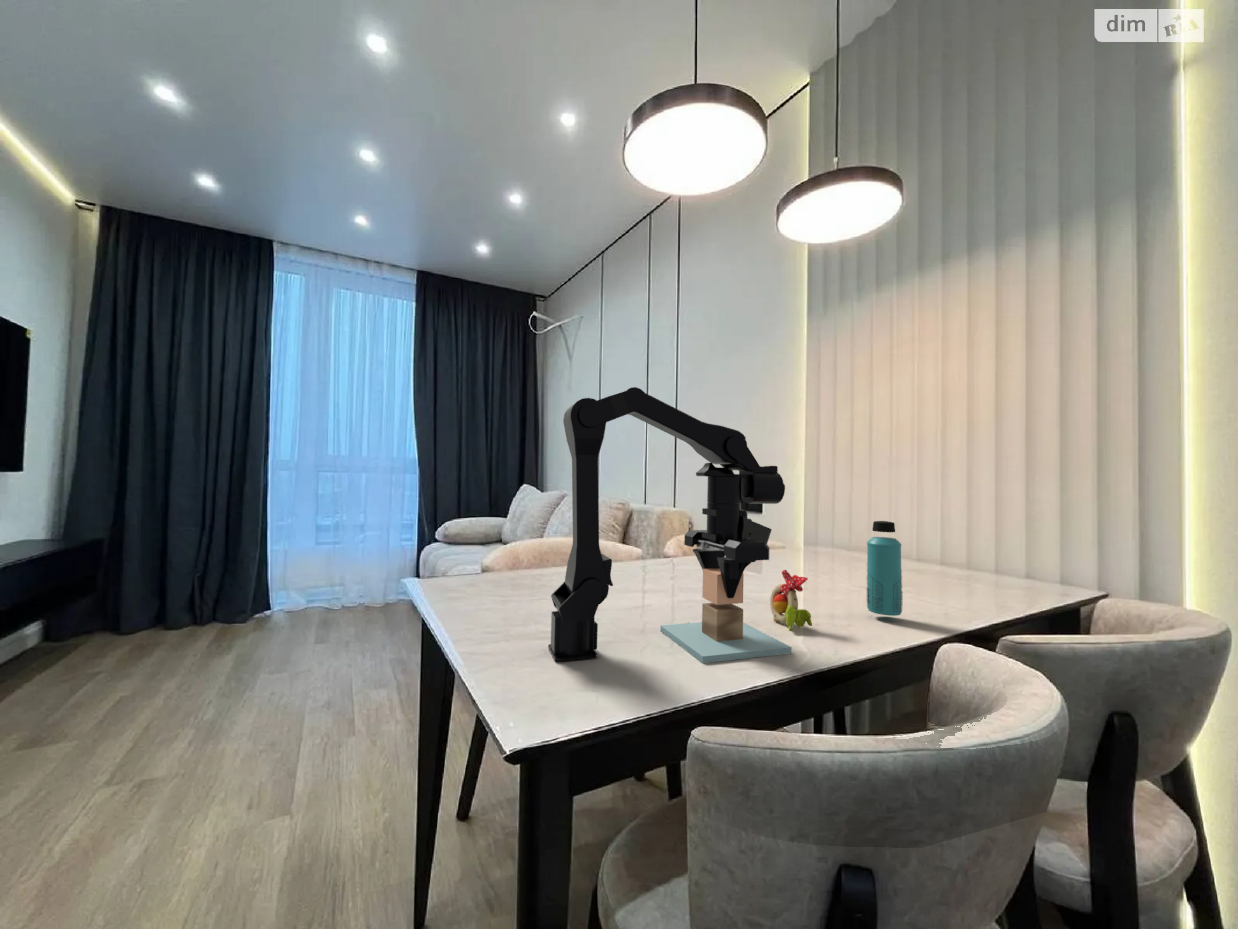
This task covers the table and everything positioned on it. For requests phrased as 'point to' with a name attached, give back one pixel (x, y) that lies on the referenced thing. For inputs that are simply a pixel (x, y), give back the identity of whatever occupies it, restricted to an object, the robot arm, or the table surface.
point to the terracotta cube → (719, 588)
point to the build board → (723, 643)
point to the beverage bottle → (884, 572)
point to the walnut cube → (722, 621)
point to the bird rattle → (789, 602)
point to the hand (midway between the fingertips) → (722, 594)
